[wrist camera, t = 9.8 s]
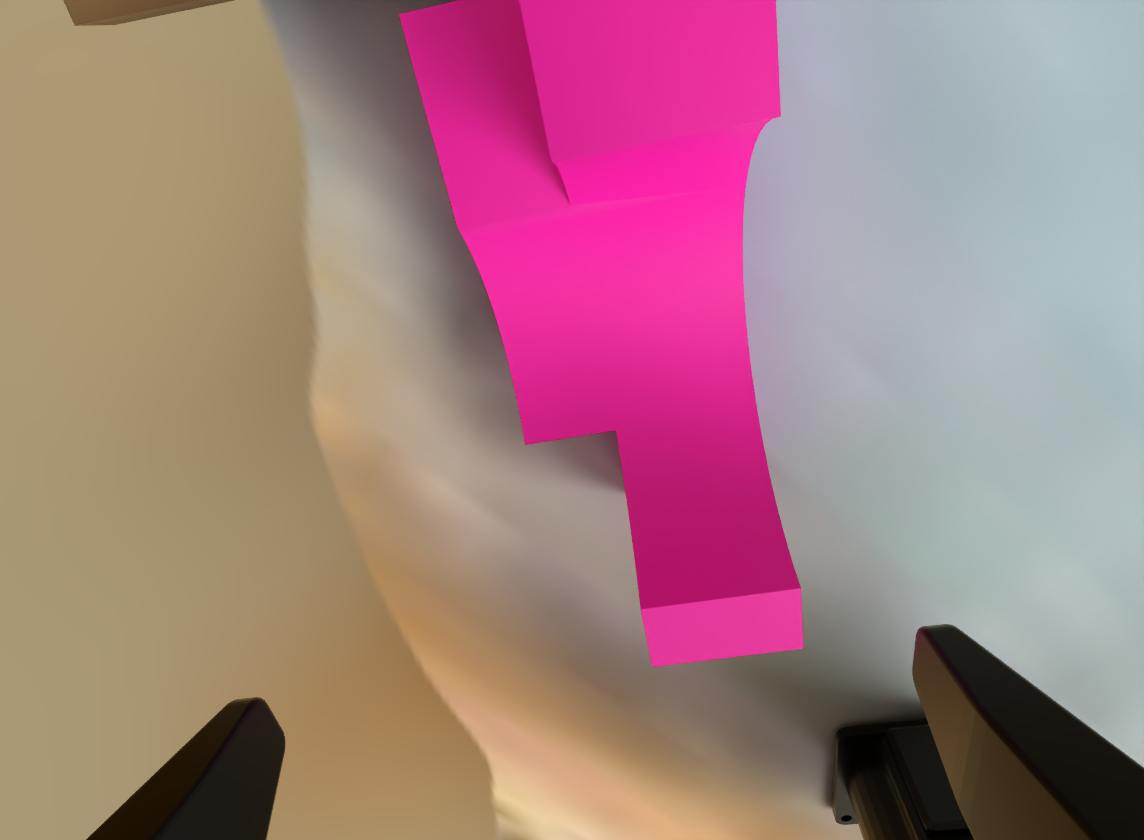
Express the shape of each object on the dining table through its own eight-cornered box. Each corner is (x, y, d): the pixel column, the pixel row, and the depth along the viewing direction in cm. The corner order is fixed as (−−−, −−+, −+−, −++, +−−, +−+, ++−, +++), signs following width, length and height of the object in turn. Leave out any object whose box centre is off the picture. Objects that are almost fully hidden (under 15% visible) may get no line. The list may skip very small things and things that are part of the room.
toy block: (440, 15, 17) (353, 13, 11) (696, -44, 16) (772, -85, 10) (562, 502, 24) (555, 678, 18) (742, 475, 24) (803, 648, 17)
